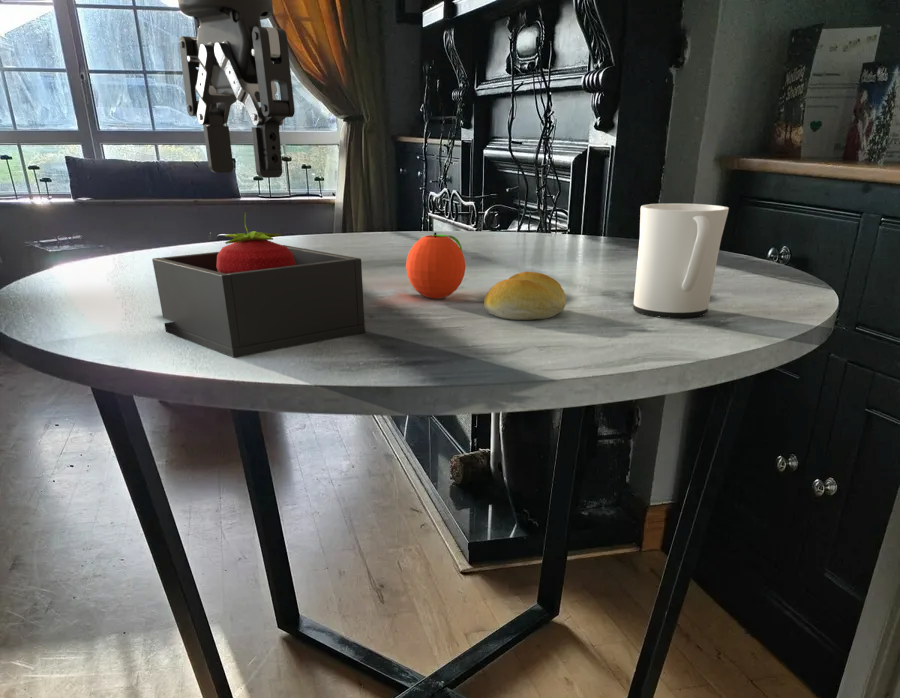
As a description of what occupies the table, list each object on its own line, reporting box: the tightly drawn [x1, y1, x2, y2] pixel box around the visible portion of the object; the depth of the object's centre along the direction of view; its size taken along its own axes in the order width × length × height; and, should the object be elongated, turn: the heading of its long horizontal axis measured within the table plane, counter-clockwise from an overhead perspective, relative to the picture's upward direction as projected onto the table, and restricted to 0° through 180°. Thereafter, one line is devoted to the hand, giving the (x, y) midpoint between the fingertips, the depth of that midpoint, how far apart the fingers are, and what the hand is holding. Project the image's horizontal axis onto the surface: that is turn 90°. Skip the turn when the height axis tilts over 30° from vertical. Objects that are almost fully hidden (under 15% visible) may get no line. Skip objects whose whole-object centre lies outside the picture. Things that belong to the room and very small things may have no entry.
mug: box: [632, 203, 730, 319], centre depth 83 cm, size 11×9×10 cm
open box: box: [151, 244, 366, 358], centre depth 75 cm, size 15×14×7 cm
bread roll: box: [483, 271, 567, 321], centre depth 84 cm, size 8×9×4 cm
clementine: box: [405, 232, 466, 300], centre depth 91 cm, size 8×7×7 cm
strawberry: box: [216, 211, 296, 274], centre depth 74 cm, size 6×8×10 cm
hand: (245, 174), depth 70 cm, fingers open, 8 cm apart
